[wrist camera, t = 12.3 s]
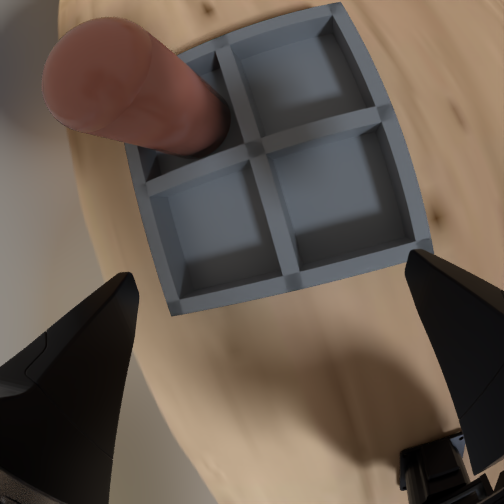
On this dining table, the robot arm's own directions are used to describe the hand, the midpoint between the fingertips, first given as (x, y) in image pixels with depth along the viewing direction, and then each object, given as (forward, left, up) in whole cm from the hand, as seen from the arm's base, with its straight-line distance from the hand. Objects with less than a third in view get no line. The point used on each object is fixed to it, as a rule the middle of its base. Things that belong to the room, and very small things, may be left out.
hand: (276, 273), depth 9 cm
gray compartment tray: (+6, +1, -11) cm, 13 cm away
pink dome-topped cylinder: (+10, +5, -11) cm, 15 cm away
